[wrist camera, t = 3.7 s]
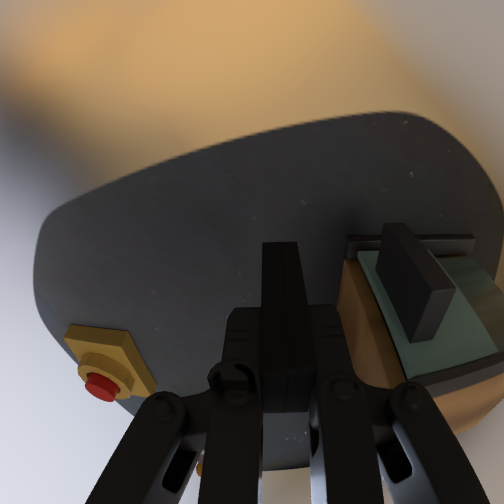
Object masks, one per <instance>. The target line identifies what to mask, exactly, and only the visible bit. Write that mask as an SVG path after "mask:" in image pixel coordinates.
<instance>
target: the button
mask: <svg viewBox="0 0 504 504" xmlns="http://www.w3.org/2000/svg"><path fill="white" fill-rule="evenodd" d="M85 388H86V389H87V390H88V391H89V393H91V394H92V395H93V396H95V397H97V398H99V399H101V400H104V401H107V402H113V401H114V400H115V397H116V394H117V392H118V389H119V387H118V385H117V384H116V383H114V382H113V381H112V380H110V379H109V378H107V377H105V376H103V375H101V374H98V373H94V372H91V373H90V375H89V377H88V379H87V381H86V384H85Z"/></svg>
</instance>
